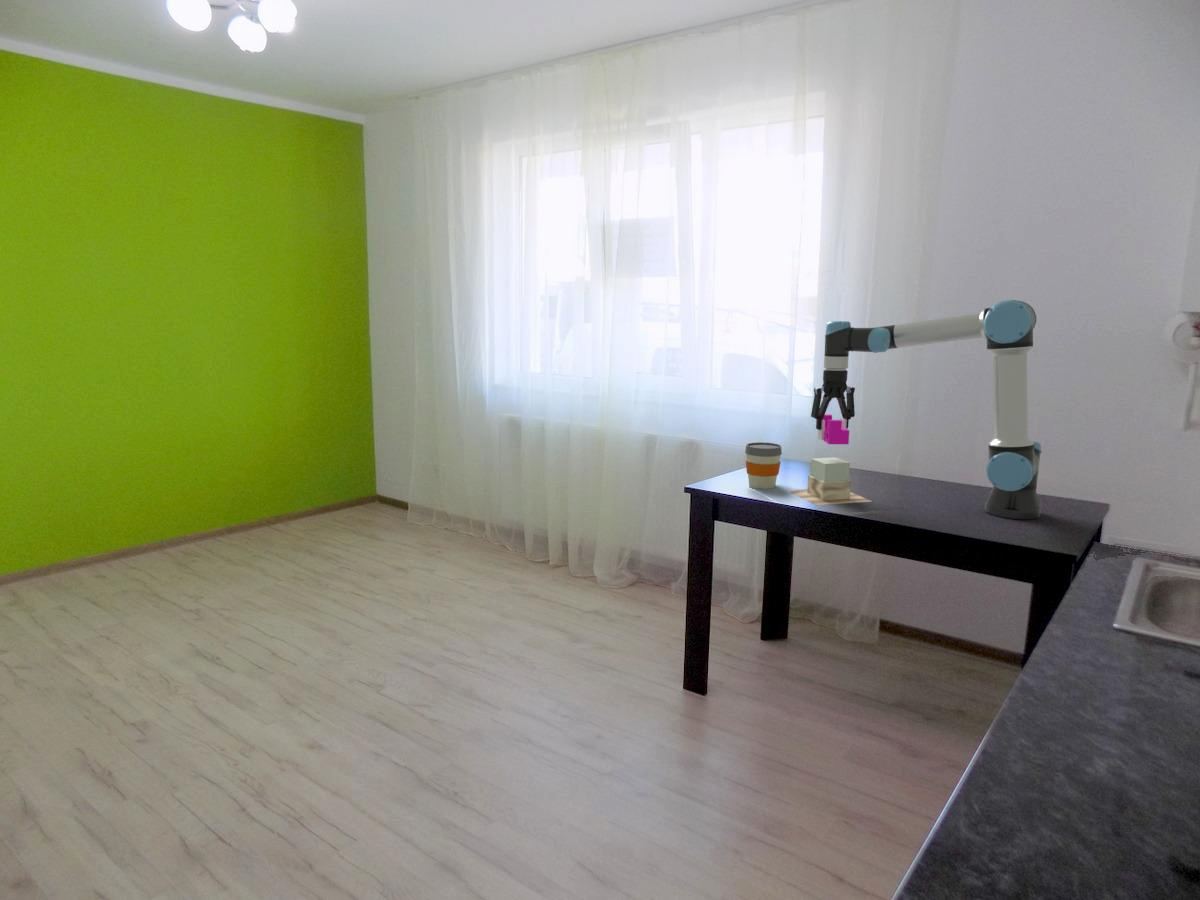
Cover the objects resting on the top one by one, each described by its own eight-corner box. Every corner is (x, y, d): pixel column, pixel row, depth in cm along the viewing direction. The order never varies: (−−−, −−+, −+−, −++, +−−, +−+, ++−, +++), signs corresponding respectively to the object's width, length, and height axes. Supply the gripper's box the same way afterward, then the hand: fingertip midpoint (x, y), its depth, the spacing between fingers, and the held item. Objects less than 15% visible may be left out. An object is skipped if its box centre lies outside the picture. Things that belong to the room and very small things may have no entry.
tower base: (849, 498, 248) (851, 480, 247) (822, 500, 246) (823, 482, 245) (833, 491, 258) (834, 474, 257) (807, 493, 255) (808, 475, 254)
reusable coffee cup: (762, 481, 275) (763, 441, 272) (787, 488, 265) (789, 446, 262) (736, 485, 268) (737, 444, 266) (761, 493, 258) (763, 450, 255)
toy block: (848, 444, 239) (849, 421, 238) (828, 444, 240) (829, 421, 238) (837, 436, 254) (838, 414, 253) (818, 436, 254) (819, 414, 253)
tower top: (848, 480, 247) (849, 462, 246) (824, 481, 245) (825, 464, 244) (834, 474, 256) (835, 457, 255) (810, 476, 254) (811, 458, 253)
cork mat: (872, 503, 245) (872, 501, 244) (816, 506, 240) (816, 505, 240) (839, 488, 264) (839, 487, 264) (786, 492, 259) (786, 490, 259)
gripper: (856, 367, 250) (852, 435, 254) (801, 369, 245) (798, 438, 249) (869, 369, 243) (865, 439, 247) (813, 370, 238) (809, 442, 242)
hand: (831, 438), depth 248 cm, fingers closed on toy block, 7 cm apart
